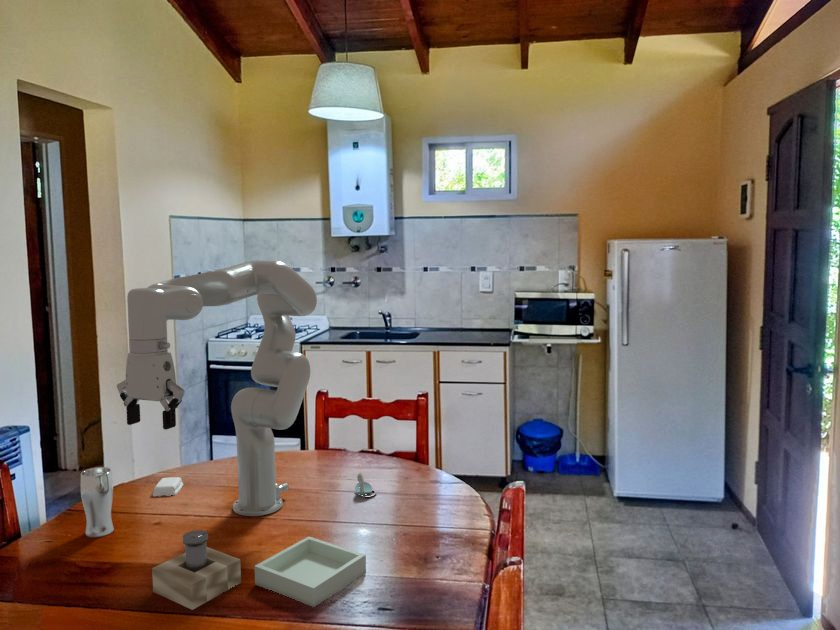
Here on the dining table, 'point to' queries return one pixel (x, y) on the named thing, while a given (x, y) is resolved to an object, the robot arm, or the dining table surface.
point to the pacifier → (362, 486)
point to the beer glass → (97, 500)
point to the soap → (168, 486)
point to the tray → (310, 570)
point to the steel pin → (195, 550)
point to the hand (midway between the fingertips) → (151, 425)
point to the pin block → (196, 579)
